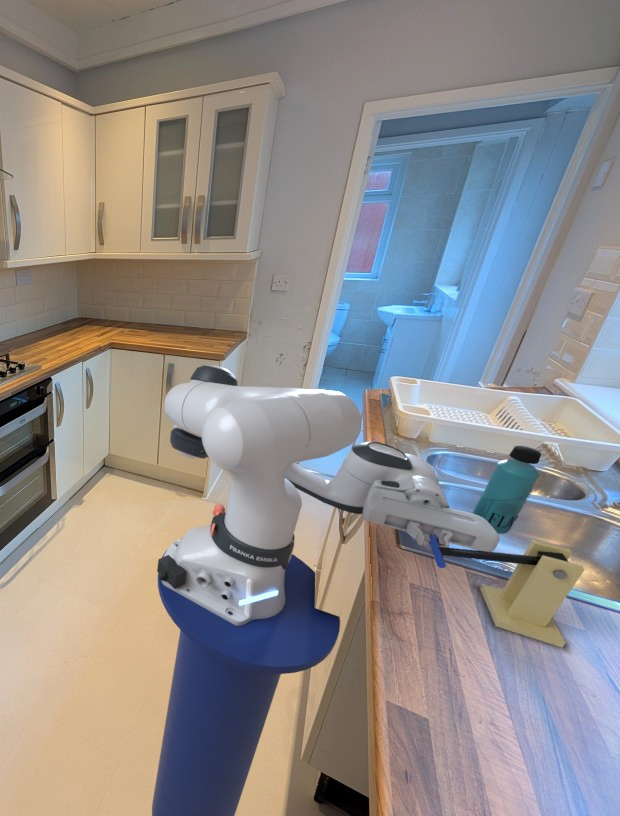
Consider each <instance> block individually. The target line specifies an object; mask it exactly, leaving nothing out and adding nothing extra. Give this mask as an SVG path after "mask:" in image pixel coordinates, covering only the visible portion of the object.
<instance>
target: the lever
mask: <svg viewBox="0 0 620 816" xmlns="http://www.w3.org/2000/svg"><path fill="white" fill-rule="evenodd" d="M429 536H430V538H431V542H430V544H429V546H430V549H431V552H432V555H433V558H434V561H435V564H436V566H437V568H439V569H445V568H447V564H446V561H445V559H444V556H445V557H452V558H453V557H454V558H463V559H470V560H471V559H473V560H482V561H491V562H499V563H500V562H501V563H510V564H517V565H518V564H527V565H537V564H538V562H539V560H540V559H541V557H542V556H547V557H551V558H555V559H559V560H563V561H567V562H569V559H568V560H567V559H566V557H565V556H564V555H563V553H553V552H543V551H538V552H537V556H527V555H524V554H518V553H517V554H516V553H508V552H507V553H505V552H497V551H492V552H487V551H478V550H475V549H468V548H467V549H466V548H456V547H449V548H447V547H440V546H439V544H438V541H437V538H436V536H435V535H433V534H430V535H429Z"/></svg>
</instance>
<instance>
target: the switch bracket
mask: <svg viewBox="0 0 620 816" xmlns="http://www.w3.org/2000/svg"><path fill="white" fill-rule="evenodd" d="M538 551H543V552H553V553H563V555H564V556H565V557H566V559H567V560H568V562H567V561H563V560H559V559H555V558H551V557H547V556H542V557H541V559H540V560H539V562H538V564H537V565H527V564H518V563H517V564H516V566H515V568H514V570H513V571H512V573H511V575H510V577H509V578H508V580H507V582H506V583H505V585H504V587H503V588H497V587H495V586H491V585H487V584H484V583H482V584H481V586H480V587H479V590H480V593H481V595H482V597H483V599H484V602H485V604H486V606H487V609H488V611H489V613H490V617H491V618H492V621H493V623H494V626H495V627H497V628H500V629H501V630H505V631H509V632H512V633H515V634H518V635H522V636H524V637H527V638H530V639H533V640H536V641H540V642H544V643H546V644H550V645H552V646H556V647H559V648H563V647H564V646H565V645H566V644H567V642H566V640H565V638H564V637H563V635H562V633H561V631H560V630H559V628H558V626H557V624H556V623H555V621H554V620H553V617H554V615H556V612H557V611H558V609H559V607H561V605H562V604H563V602H564V600H566V598H567V596H568V595H569V593H570V592H571V591H572V589H573V588H574V586H575V585H576V583H577V582H578V581H579V579H580V577H581V576H582V575H583V573H584V572H585V570H586V569H585V568H584V566H583V565H581V564H579V563H574V562H570V561H569V558H570V557H571V555H573V551H572V550H571V549H570V548H569V547H565V546H559V545H556V544H553V543H552V544H551V543H547V542H543V541H540V540H535V539H531V541H530V543H529V545H528V546H527V548H526V550H525V551H524V553H523V555H527V556H537V552H538Z"/></svg>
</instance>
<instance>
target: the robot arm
mask: <svg viewBox="0 0 620 816" xmlns="http://www.w3.org/2000/svg"><path fill="white" fill-rule="evenodd" d="M238 383H239V382H238V379H237V378H236V374H234V373H232V372H231V371H230V370H228V369H227V368H225V367H223V366H220V365H213V364H208V365H200V366H198V367H196V369H195V370H194V372H193V373H192V375H191V377H190V381H188V382H182V383H179V384H178V383H177V385H175V386H173V387H171V388H170V389H169V390H168V392H167V393H166V396H165V399H164V403H163V408H164V413H165V415H166V417H167V418H168V420H169V421H170V422H172V423H173V426H172V430H170V437H169V440H170V445H171V447H172V448H173V449H174V450H175V451H176V452H177V453H178V454H180V455H181V456H183V457H186V458H187V459H188V458H189V459H193V460H194V459H196V460H197V459H204V460H205V459H207V458H209V459H210V460H211V461H212V462H213V464H214V465H215V466H217V467H218V468H220V469H221V470H223V471H224V472H225V473H226V476H227V479H228V494H227V501H226V508H225V506H224V505H223V504H221V503H217V504H215V505H214V506H213V510H212V516H213V517H212V520H211V523H210V524H208V525H202V526H195V527H192V528H190V529H189V530H188V531H186V532H185V533H184V535H183V536H182V537H183V538H182V537H181V538H182V539H181V538H179V539H177V540H175V541H174V542H172V543H171V545H169V547H168V548H167V549H168V550H167V549H166V550H167V551H166V550H165V551H166V553H165V552H164V553H165V555H164V554H163V555H164V557H162V556H161V558H158V560H157V567H156V569H157V570H156V572H157V574H158V573H159V574H160V576H159V579H160V580H161V581H162V583H163V585H165V586H166V587H168V588H170V589H171V590H173V591H175V592H177V593H179V594H180V595H182V596H184V597H186V598H187V599H189V600H191V601H193V602H195V603H196V604H198V605H200V606H202V607H203V608H205V609H207V610H209V611H211V612H212V613H214V614H216V615H218V616H220V617H221V618H223V619H225V620H227V621H228V622H230V623H232V624H234V625H237V626H242V625H244V624H246V623H248V622H250V621H251V620H256V619H266V618H270V617H273V616H275V615H277V614H278V613H279V612H280V611H281V610H282V609H283V607H284V605H285V591H284V578H285V569H286V568H287V565H288V563H289V562H290V559H291V556H292V554H293V552H294V548H295V538H296V537H295V530H296V527H297V524H298V521H299V517H300V513H301V510H302V506H303V501H302V496H301V494H300V492H303V494H304V493H305V494H307V495H309V497H312V498H314V499H316V500H318V501H320V502H322V503H323V504H325V505H329V506H331V507H333V508H336V509H338V510H341V511H344V512H346V513H349V514H350V513H351V514H356V515H362V519H364V520H365V521H367V522H368V523H371V524H374V525H375V524H376V525H379V526H383V527H388V528H390V529H394V530H399V531H401V532H402V531H403V532H406V533H407V534H408V535H409V536H410V537H411V538H413V539H414V540H415V541H416V544H417V545H418V546H420V547H421V546H422V547H425V548H429V546H430V542H431V538H430V536H429V535H430V534H433V535H435V536H436V538H437V541H438V544H439V546H440V547H447V548H450V544H452V545H456V546H459V547H462V548H463V547H464V548H467V549H470V550H477V551H487V552H495V550H496V548H497V547H498V545H499V543H500V540H501V537H500V535H499V534H498V533H497V532H496V531H495V529H494V528H493V527H492V526H491V525H490V523H489V522H488V521H487V520H485V519H484V518H483V517H481V516H479V515H476V514H473V512H469V511H464V510H459V509H455V508H451V507H450V505H449V501H448V500H447V497H446V494H445V493H444V490H443V489H442V488H441V486H440V481H439V479H438V477H437V475H436V473H435V471H434V470H433V468H432V467H431V466H430V465H429V463H428V462H426V461H425V460H423V458H421V457H419V456H417V455H415V454H411V453H405V452H404V451H402V450H400V449H399V448H396V447H394V446H391V445H390V444H386V443H382V442H380V441H379V442H378V441H366V442H360V443H357V444H355V445H353V444H354V443H355V442H356V441H357V439H358V438H359V436H360V434H361V430H362V425H363V424H362V416H361V412H360V410H359V407H358V406H357V404H356V403H355V401H353V399H352V398H351V397H349V396H348V395H346V394H345V393H343V392H340V391H336V390H326V389H313V388H299V387H298V388H297V387H281V386H279V387H278V386H249V385H248V386H247V385H246V386H245V385H244V386H243V385H239V384H238ZM351 445H353V446H352V447H351V449H350V450H349V451H348V453H347V455H346V457H345V458H344V460H343V462H342V464H341V466H340V467H339V469H338V470H337V472H336V474H335V475H334V477H333V478H332V479H328V480H327V479H324V478H322V477H321V476H318V475H316V474H314V473H312V472H311V471H308V470H306V469H305V468H303V467H301V466H299V465H297V464H296V463H301V462H306V461H310V460H311V461H312V460H316V459H317V460H318V459H321V458H327V457H329V456H331V455H333V454H336V453H338V452H340V451H342V450H344V449H346V448H348V447H349V446H351ZM298 490H299V491H300V492H299V491H298ZM229 614H231V615H229Z"/></svg>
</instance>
